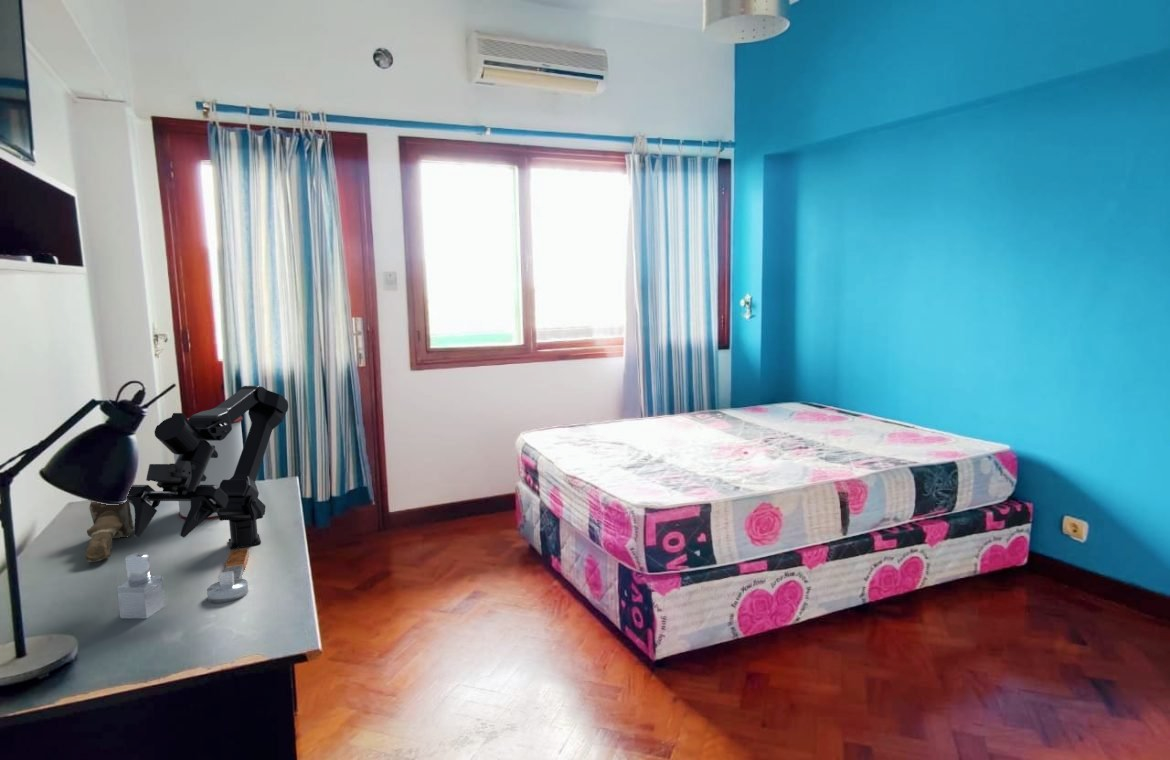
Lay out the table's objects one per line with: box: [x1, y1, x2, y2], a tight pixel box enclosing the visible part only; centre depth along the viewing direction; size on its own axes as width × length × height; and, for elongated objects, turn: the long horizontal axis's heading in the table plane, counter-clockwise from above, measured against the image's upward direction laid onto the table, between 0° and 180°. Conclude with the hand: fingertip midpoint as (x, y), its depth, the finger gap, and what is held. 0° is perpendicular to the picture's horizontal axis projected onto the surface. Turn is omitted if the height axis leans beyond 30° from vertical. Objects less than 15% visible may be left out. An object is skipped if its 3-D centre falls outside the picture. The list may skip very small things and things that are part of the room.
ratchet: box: [206, 547, 250, 605], centre depth 137 cm, size 23×7×4 cm, turn 21°
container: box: [173, 416, 244, 521], centre depth 180 cm, size 17×17×25 cm
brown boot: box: [84, 500, 134, 563], centre depth 155 cm, size 8×22×15 cm
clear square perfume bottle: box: [116, 551, 166, 620], centre depth 123 cm, size 5×5×11 cm
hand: (159, 536), depth 128 cm, fingers open, 9 cm apart
